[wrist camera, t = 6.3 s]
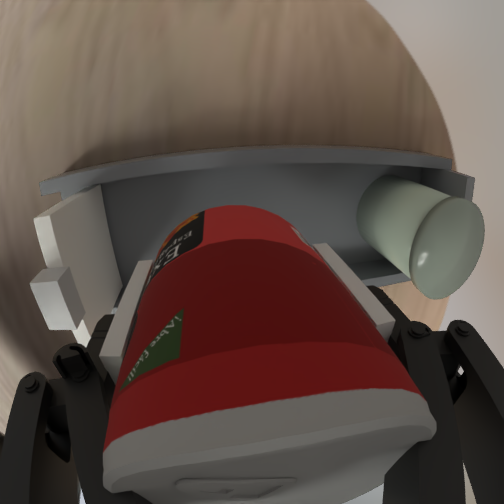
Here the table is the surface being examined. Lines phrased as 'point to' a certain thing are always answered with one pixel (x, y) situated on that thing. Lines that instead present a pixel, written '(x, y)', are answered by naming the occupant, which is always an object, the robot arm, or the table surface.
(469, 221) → the green jar
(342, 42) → the table surface
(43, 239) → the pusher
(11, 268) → the table surface
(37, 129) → the table surface
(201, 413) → the canned food
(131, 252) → the lane
